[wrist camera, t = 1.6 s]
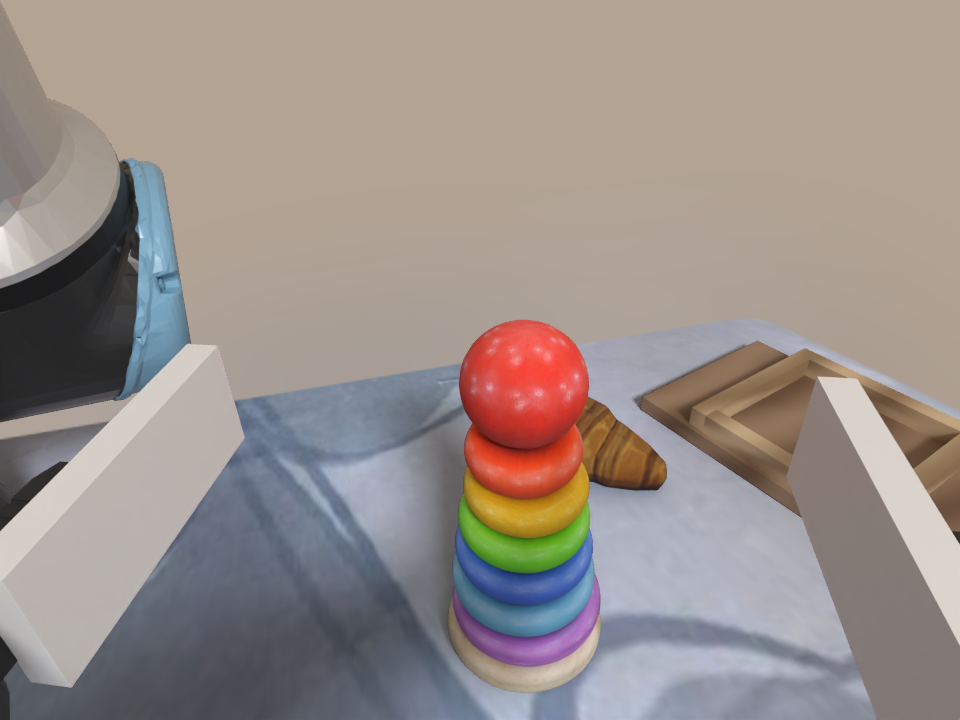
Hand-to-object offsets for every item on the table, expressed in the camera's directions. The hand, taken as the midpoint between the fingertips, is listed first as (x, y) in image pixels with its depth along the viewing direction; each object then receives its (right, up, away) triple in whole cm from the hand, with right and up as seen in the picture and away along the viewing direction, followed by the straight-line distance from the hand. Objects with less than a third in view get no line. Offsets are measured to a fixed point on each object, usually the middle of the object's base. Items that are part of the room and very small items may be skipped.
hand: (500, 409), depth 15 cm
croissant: (+6, -6, +31) cm, 32 cm away
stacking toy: (+2, -13, +20) cm, 24 cm away
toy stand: (+24, -5, +31) cm, 40 cm away
